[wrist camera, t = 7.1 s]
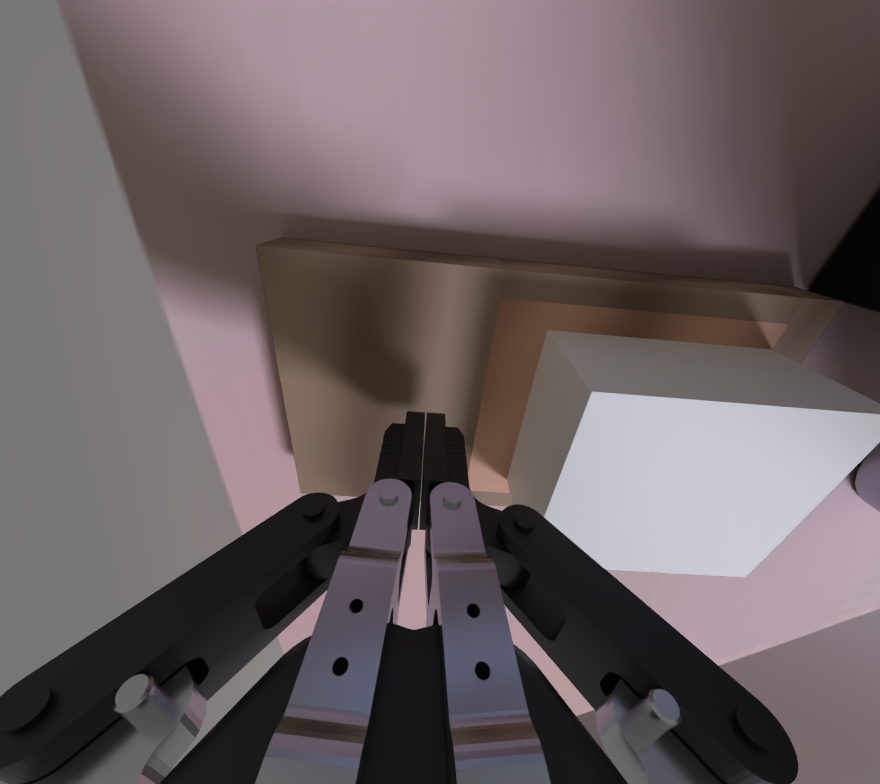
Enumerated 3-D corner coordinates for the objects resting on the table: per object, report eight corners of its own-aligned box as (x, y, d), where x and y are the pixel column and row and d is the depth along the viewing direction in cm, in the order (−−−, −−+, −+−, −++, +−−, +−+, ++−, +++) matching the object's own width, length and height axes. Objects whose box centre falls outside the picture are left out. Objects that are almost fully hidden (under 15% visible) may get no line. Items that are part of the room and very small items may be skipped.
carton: (771, 349, 13) (905, 416, 9) (678, 491, 17) (745, 577, 14) (547, 329, 13) (591, 391, 9) (506, 479, 17) (526, 565, 13)
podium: (795, 287, 14) (844, 301, 12) (668, 489, 20) (688, 517, 19) (279, 238, 13) (255, 245, 11) (313, 465, 19) (300, 493, 18)
